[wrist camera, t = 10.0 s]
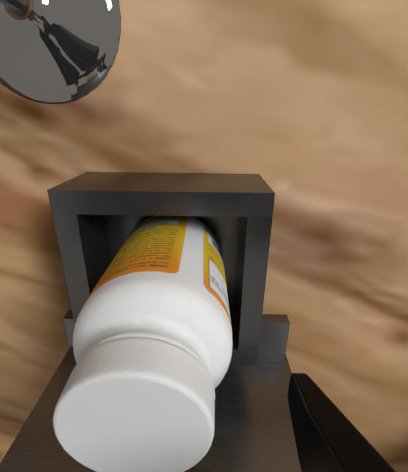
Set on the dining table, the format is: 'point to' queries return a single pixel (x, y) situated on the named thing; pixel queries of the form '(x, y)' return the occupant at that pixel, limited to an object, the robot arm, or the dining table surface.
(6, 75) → the wine glass
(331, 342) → the dining table surface
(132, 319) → the supplement bottle
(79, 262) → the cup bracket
